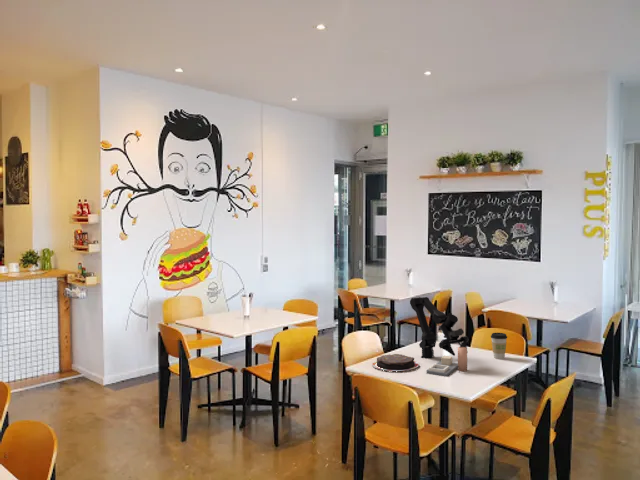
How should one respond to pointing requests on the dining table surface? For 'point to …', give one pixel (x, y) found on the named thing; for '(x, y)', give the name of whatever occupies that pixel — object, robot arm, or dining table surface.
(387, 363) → the chocolate cake
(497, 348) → the coffee cup
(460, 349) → the pillar
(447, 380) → the dining table surface
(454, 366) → the base plate
